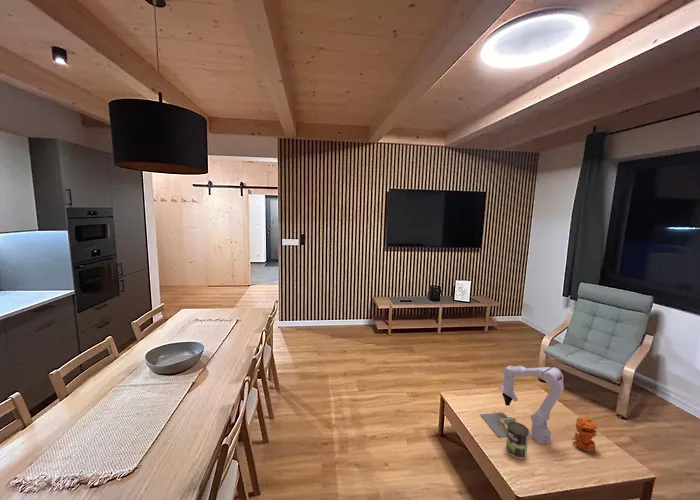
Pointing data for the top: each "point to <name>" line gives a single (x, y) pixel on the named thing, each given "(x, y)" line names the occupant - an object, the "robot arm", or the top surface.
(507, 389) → the robot arm
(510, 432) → the coffee can
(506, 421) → the fence gate
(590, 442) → the toy dinosaur
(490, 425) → the card
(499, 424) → the fixed fence
